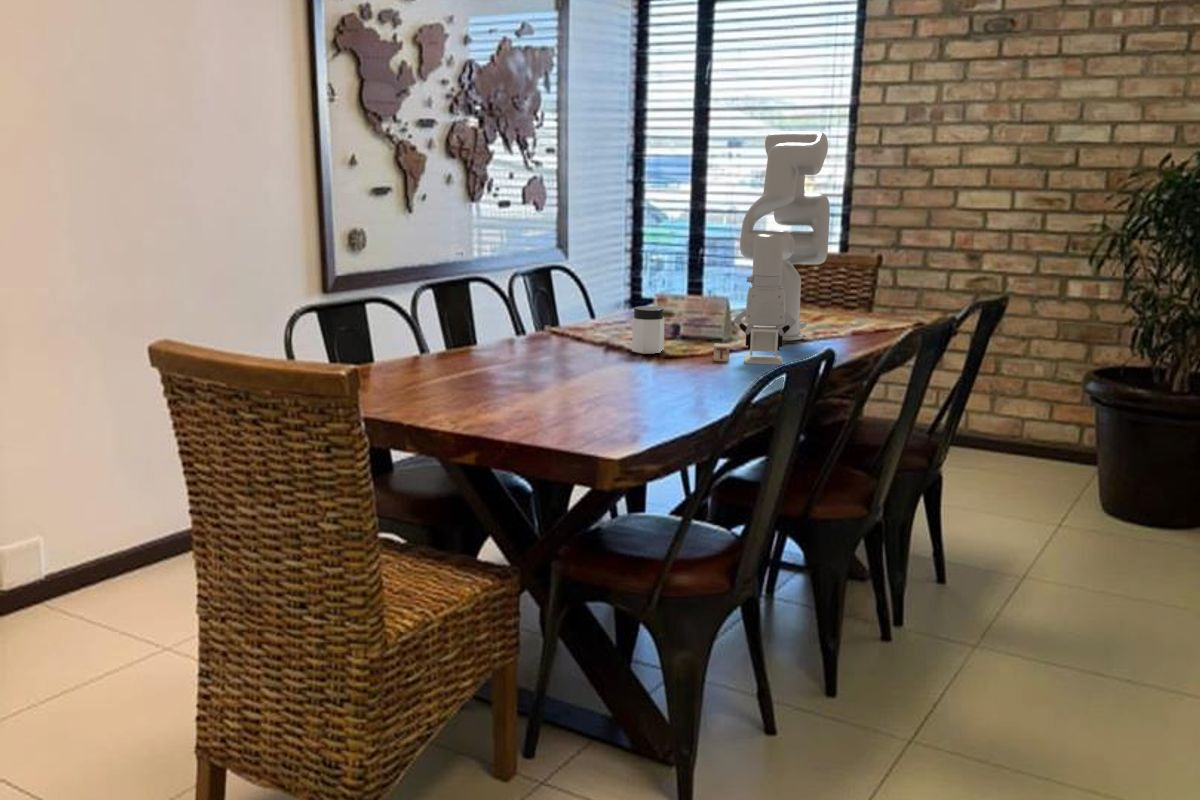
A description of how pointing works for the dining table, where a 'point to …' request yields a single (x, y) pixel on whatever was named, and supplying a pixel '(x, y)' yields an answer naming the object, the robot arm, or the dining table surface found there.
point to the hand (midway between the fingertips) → (763, 348)
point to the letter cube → (721, 352)
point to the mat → (763, 359)
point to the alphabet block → (764, 339)
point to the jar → (648, 330)
